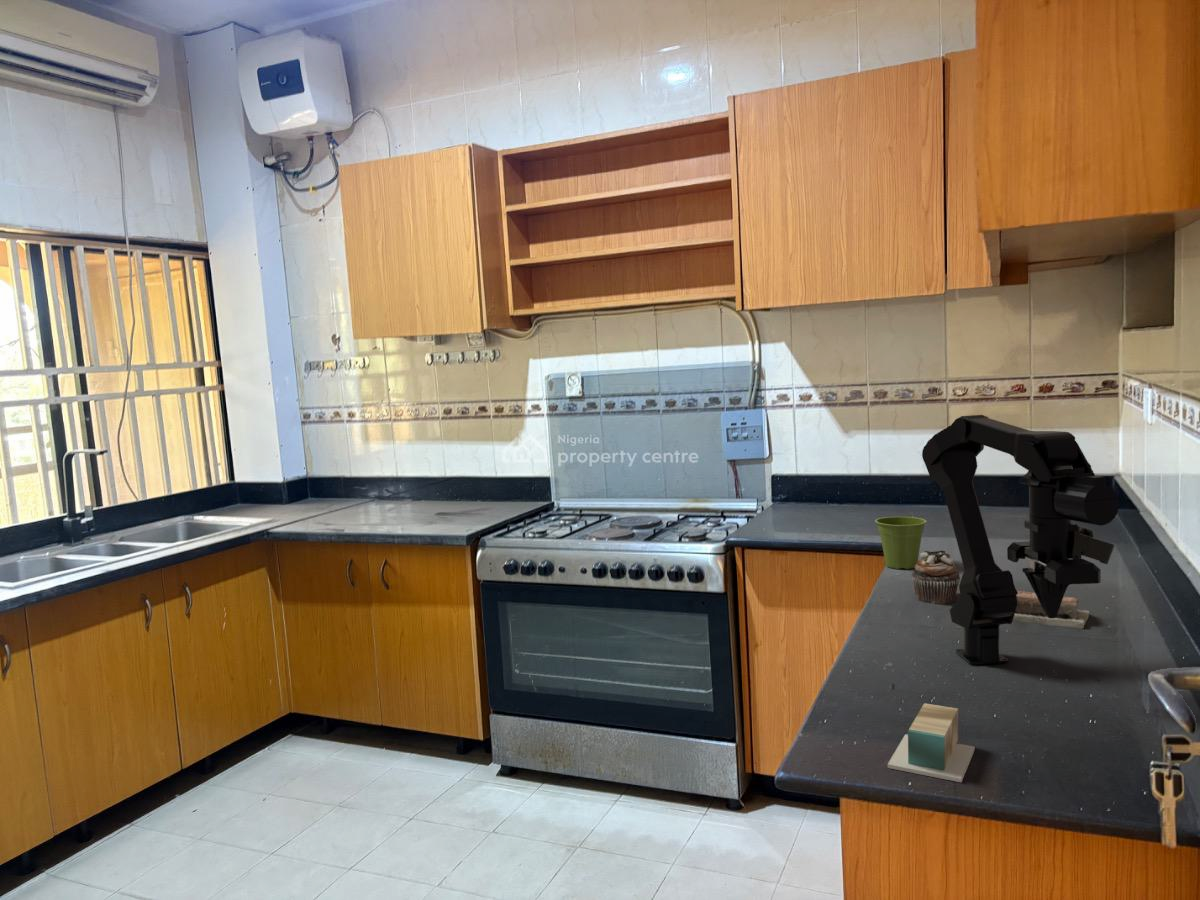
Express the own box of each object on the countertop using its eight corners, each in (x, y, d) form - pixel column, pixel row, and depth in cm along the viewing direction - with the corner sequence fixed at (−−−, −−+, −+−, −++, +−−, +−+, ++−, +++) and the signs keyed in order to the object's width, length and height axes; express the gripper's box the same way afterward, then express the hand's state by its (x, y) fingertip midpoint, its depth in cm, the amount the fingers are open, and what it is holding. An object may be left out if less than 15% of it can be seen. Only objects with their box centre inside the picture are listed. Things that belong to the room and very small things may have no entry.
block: (924, 703, 124) (907, 731, 116) (957, 708, 122) (943, 737, 113) (924, 733, 125) (908, 763, 116) (958, 739, 122) (943, 770, 114)
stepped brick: (980, 594, 176) (990, 582, 184) (980, 618, 176) (990, 605, 184) (1084, 606, 165) (1090, 593, 174) (1083, 631, 166) (1089, 617, 174)
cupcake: (903, 594, 194) (903, 548, 193) (946, 590, 195) (946, 545, 193) (923, 606, 184) (923, 559, 183) (968, 603, 185) (969, 555, 184)
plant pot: (933, 563, 218) (932, 517, 217) (918, 574, 209) (918, 526, 208) (884, 558, 225) (884, 514, 224) (868, 568, 216) (867, 523, 215)
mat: (905, 737, 125) (905, 734, 125) (974, 750, 120) (974, 746, 120) (887, 767, 116) (887, 764, 116) (961, 782, 112) (961, 778, 112)
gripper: (1139, 523, 125) (1139, 633, 126) (1076, 505, 143) (1077, 600, 145) (1056, 526, 126) (1057, 635, 127) (1005, 507, 144) (1006, 603, 145)
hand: (1051, 617), depth 136 cm, fingers closed
